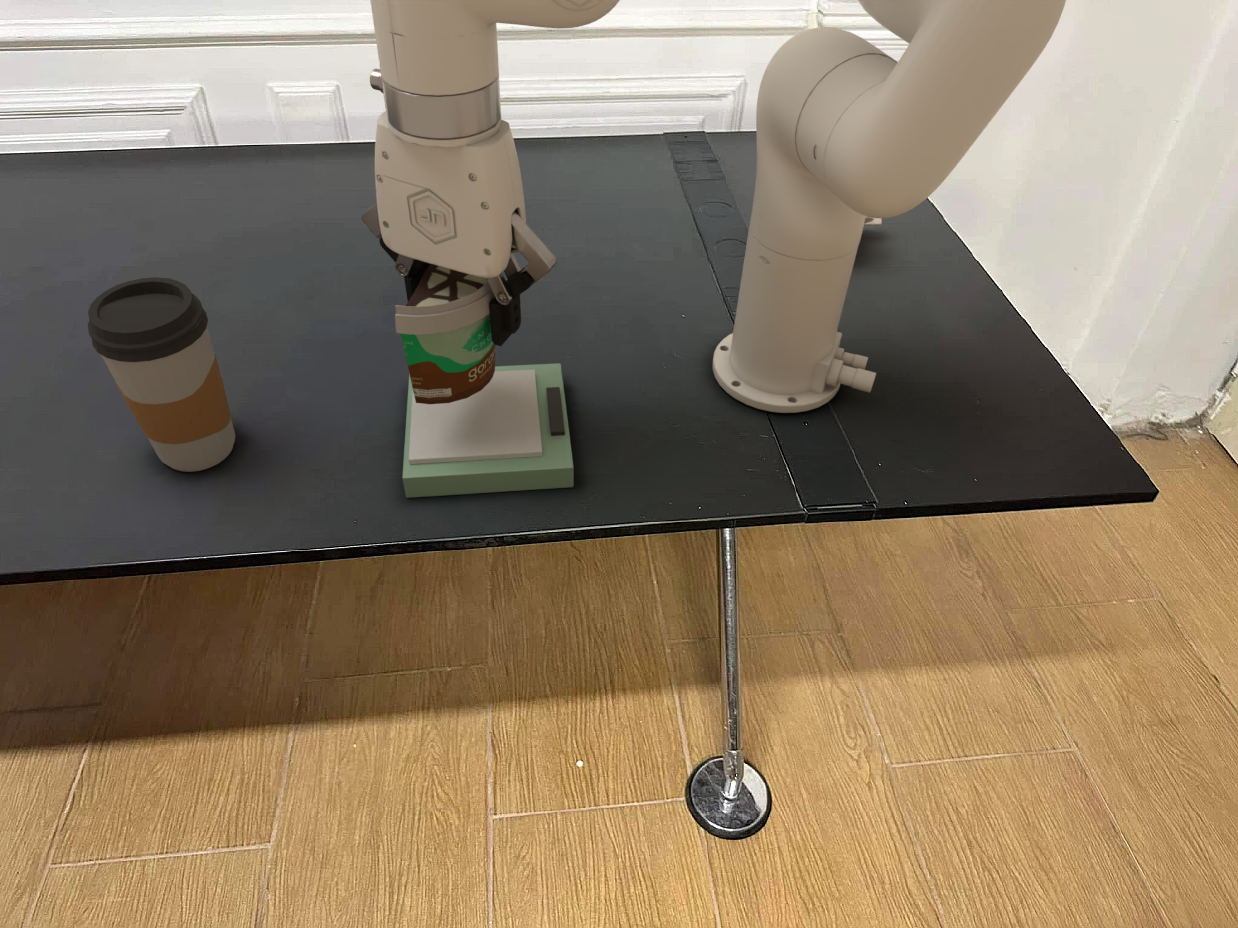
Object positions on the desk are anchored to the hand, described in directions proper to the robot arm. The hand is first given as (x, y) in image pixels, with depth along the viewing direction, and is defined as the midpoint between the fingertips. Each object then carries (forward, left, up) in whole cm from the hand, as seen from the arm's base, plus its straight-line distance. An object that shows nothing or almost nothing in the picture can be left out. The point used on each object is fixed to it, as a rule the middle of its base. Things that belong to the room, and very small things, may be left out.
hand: (465, 322), depth 72 cm
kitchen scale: (-1, -1, -12) cm, 13 cm away
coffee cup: (+21, +11, -13) cm, 27 cm away
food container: (0, 0, -5) cm, 5 cm away
